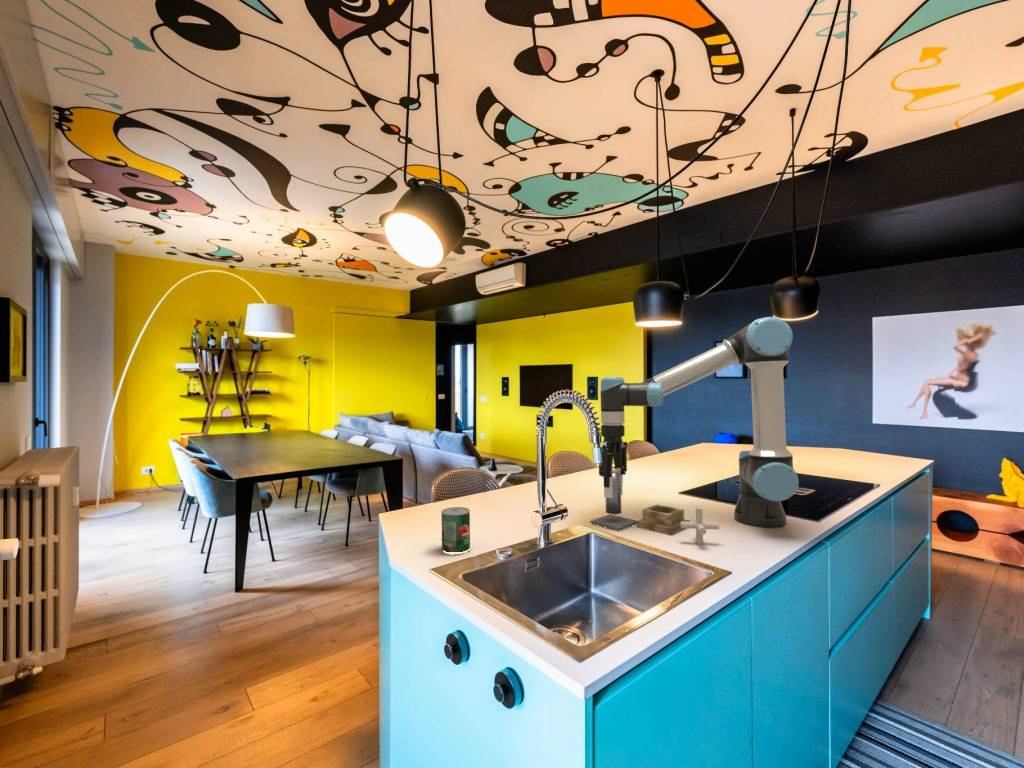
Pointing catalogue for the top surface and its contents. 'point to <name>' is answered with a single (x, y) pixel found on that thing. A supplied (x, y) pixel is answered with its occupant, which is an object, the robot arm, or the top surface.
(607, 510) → the peg
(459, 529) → the canned tomato
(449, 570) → the top surface
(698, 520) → the pipe connector
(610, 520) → the pad
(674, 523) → the block
